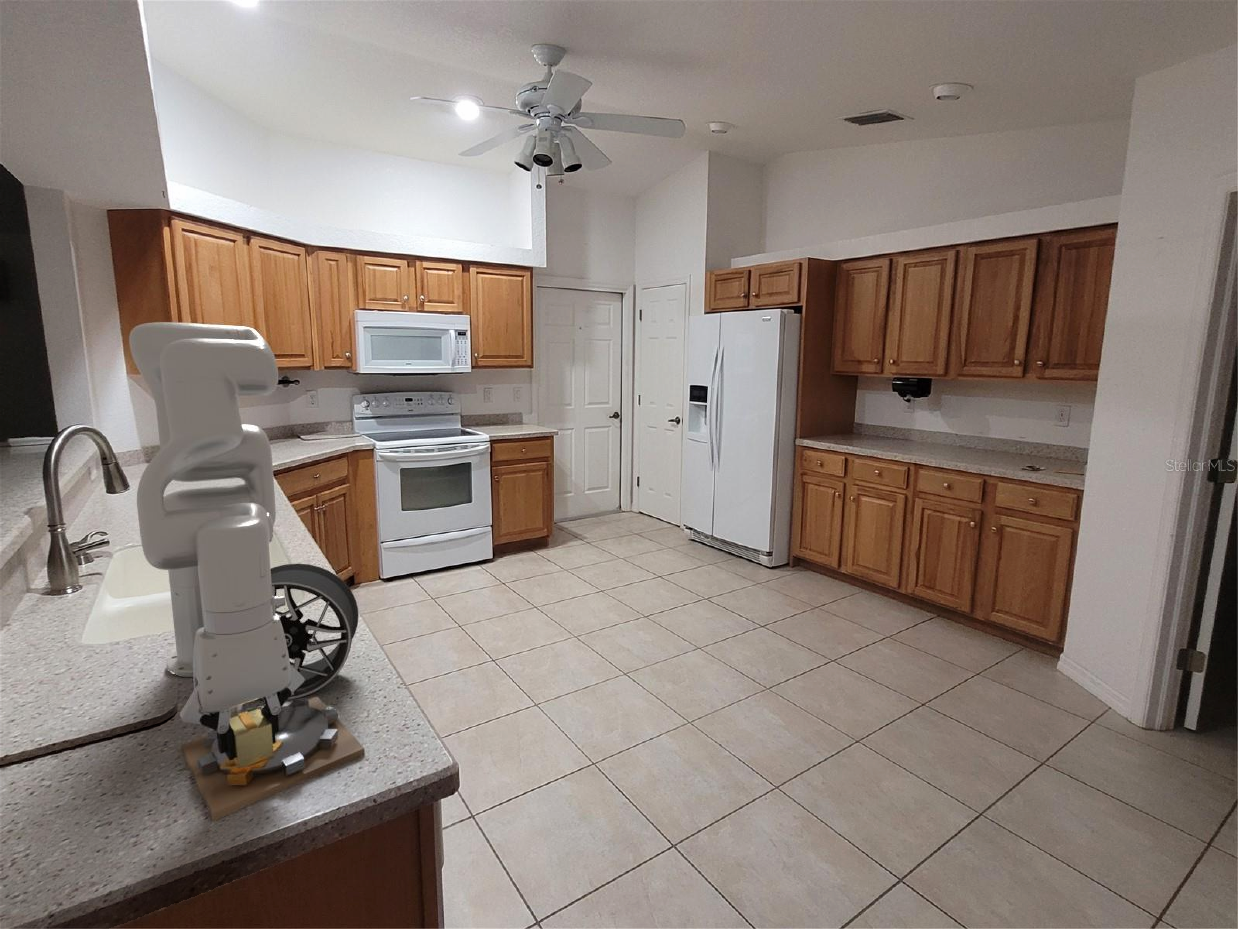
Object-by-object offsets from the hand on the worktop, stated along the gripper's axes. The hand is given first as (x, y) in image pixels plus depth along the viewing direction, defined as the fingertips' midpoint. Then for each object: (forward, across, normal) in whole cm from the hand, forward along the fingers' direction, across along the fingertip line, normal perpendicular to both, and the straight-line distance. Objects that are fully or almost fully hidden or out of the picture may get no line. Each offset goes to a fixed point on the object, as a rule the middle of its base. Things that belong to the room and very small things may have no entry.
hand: (249, 745), depth 79 cm
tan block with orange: (+1, 0, 0) cm, 1 cm away
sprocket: (+3, -3, -3) cm, 6 cm away
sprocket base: (+4, -4, -3) cm, 7 cm away
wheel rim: (+5, -12, -20) cm, 24 cm away
